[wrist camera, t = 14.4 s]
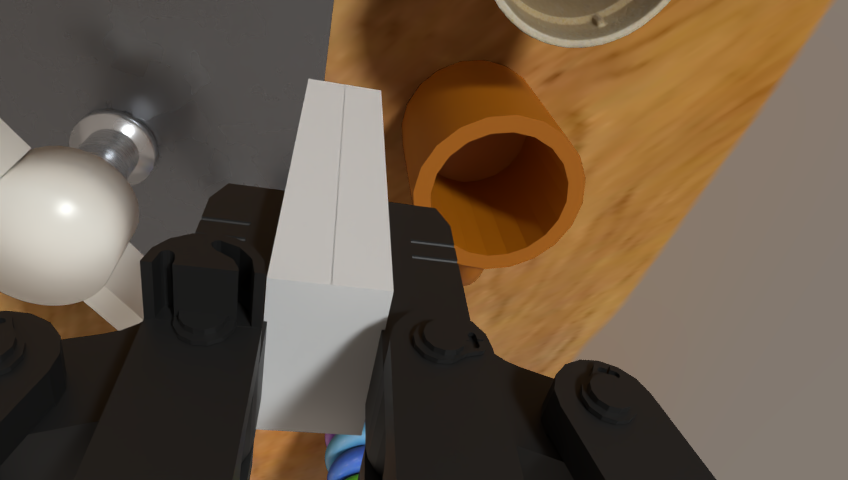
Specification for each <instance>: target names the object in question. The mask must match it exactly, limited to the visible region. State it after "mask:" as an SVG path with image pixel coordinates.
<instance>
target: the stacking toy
mask: <svg viewBox="0 0 848 480" xmlns="http://www.w3.org/2000/svg"><path fill="white" fill-rule="evenodd" d="M325 443H326V446H327V449H326V453H325V464H326V468H327V470H328V475H327V480H358V475H359V471H360V467H361V462H362V458H363V454H364V450H365V422H364V427H363V431H362V436H360V435H344V434H327V433H325Z"/></svg>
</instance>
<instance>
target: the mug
mask: <svg viewBox="0 0 848 480" xmlns="http://www.w3.org/2000/svg"><path fill="white" fill-rule="evenodd" d="M402 141H403V150H404V156H405V162H406V168H407V174H408V180H409V186H410V192H411V198H412V204H413V205H415V206H423V207H431V208H436V209H437V211H438V212H439V213H440V214H441V215H442V216H443V218H444V219H445V220H446V221H447V222H448V224H449V225H450V227H451V231H452V236H453V241H454V248H455V250H456V255H457V264H458V265H459V269H460V274H461V279H462V284H463V286H466V285H470V284H472V283H473V282H475V281H476V280H477V279H478V278H479V277H480V275H481V273H482V272H483V270H484V269H490V268H501V267H510V266H513V265H516V264H519V263H522V262H525V261H528V260H531V259H533V258H535V257H537V256H538V255H540V254H541V253H543V252H544V251H546V250H547V249H549V248H550V247H552V246H553V245H555V244H556V243H557V242H558V240H559V239H560V238H561V237H562V236H563V235H564V234H565V233H566V231H567V230H568V229H569V228H570V227H571V226H572V224H573V222H574V220H575V218H576V216H577V214H578V212H579V209H580V207H581V205H582V203H583V195H584V187H585V175H584V171H583V167H582V162H581V158H580V155H579V154H578V152H577V151H576V150H575V148H574V147H573V145H572V144H571V143H570V141H569V140H568V138H567V137H566V135H565V134H564V133H563V131H562V130H561V129H560V127H559V126H558V125H557V123H556V122H555V121H554V119H553V118H552V116H551V115H550V114H549V112H548V111H547V110H546V108H545V107H544V106H543V104H542V103H541V102H540V100H539V99H538V97H537V96H536V95H535V93H534V92H533V91H532V89H531V88H530V87H529V85H528V84H527V83H526V81H525V80H524V78H522V77H521V76H519V75H518V74H517V73H515V72H514V71H512V70H511V69H509V68H508V67H506V66H504V65H500V64H497V63H493V62H489V61H485V60H477V61H461V62H458V63H455V64H453V65H450V66H448V67H445V68H443V69H440V70H438V71H437V72H435V73H434V74H433V75H432V76H430V77H429V78H428V79H427V80H425V81H424V82H423V83H422V84H420V86H419V87H418V89H417V90H416V92H415V93H414V95H413V96H412V98H411V99H410V101H409V102H408V104H407V107H406V111H405V114H404V118H403V121H402Z"/></svg>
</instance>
